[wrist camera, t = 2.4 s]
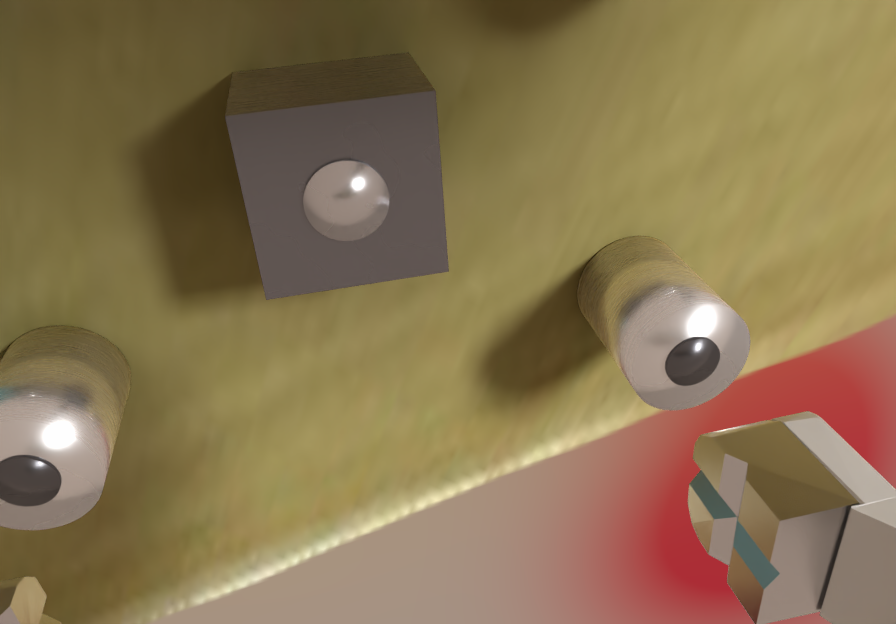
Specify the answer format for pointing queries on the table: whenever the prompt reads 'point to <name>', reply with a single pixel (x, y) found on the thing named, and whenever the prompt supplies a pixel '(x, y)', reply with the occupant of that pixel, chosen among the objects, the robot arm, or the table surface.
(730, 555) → the robot arm
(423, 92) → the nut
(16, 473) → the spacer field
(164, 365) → the table surface
